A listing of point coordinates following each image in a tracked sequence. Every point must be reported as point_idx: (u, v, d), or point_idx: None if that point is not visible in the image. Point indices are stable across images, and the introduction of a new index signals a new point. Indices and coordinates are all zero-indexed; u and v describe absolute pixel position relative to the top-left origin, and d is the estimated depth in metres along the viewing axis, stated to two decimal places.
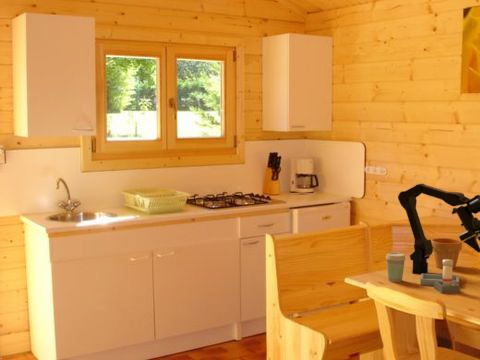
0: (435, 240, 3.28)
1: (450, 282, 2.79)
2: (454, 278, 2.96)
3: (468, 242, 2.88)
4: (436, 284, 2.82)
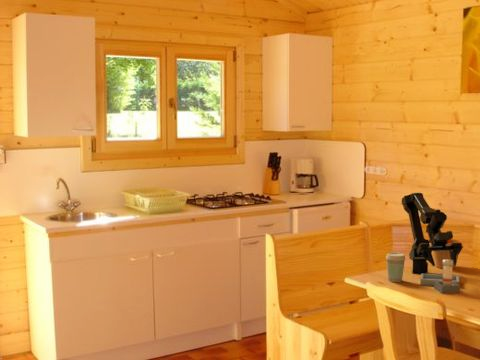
0: None
1: (450, 282, 2.79)
2: (454, 278, 2.96)
3: (425, 256, 2.88)
4: (436, 284, 2.82)
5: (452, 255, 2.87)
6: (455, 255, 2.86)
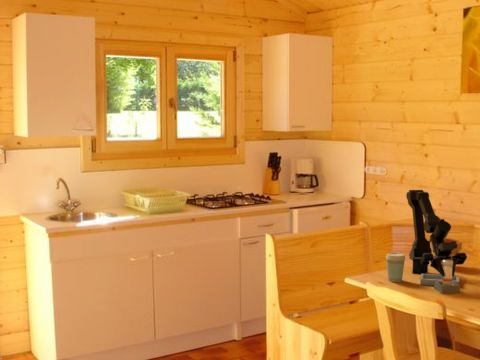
0: None
1: (450, 282, 2.79)
2: (454, 278, 2.96)
3: (435, 266, 2.84)
4: (436, 284, 2.82)
5: None
6: (453, 265, 2.81)
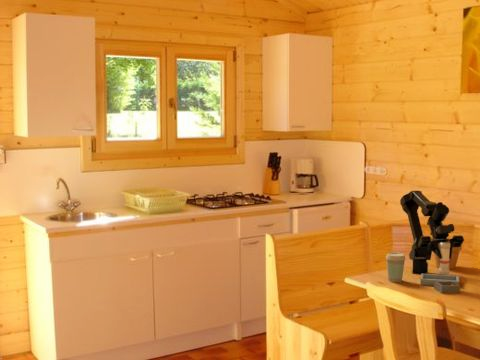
0: None
1: (447, 264, 2.84)
2: (454, 278, 2.96)
3: (432, 249, 2.88)
4: (436, 284, 2.82)
5: None
6: (451, 248, 2.85)
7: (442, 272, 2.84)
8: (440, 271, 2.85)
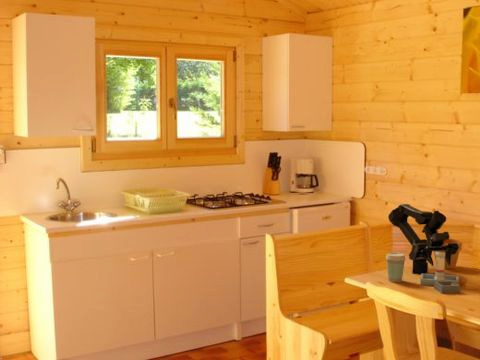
0: None
1: (442, 273, 2.92)
2: (454, 278, 2.96)
3: (424, 256, 2.96)
4: (436, 284, 2.82)
5: (446, 255, 2.95)
6: (449, 255, 2.94)
7: None
8: None
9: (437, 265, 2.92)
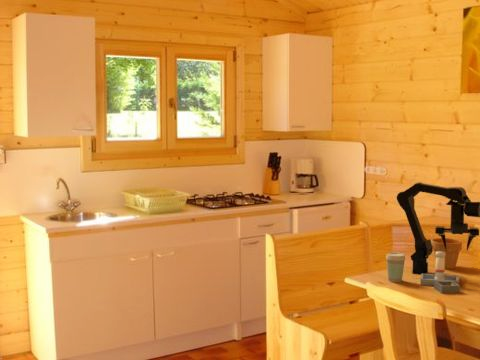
0: (435, 240, 3.28)
1: (442, 273, 2.92)
2: (454, 278, 2.96)
3: None
4: (436, 284, 2.82)
5: (468, 239, 3.00)
6: (469, 241, 2.99)
7: None
8: None
9: (437, 265, 2.92)
